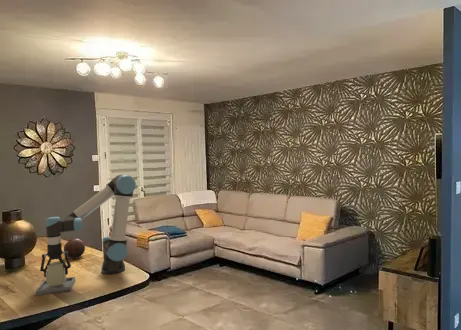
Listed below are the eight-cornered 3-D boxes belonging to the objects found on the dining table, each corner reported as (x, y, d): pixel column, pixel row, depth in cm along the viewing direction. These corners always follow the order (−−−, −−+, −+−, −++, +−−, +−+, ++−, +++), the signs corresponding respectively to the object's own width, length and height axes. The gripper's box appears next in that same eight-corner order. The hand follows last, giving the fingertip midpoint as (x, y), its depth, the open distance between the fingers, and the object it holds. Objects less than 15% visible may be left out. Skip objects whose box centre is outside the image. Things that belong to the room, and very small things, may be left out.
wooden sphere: (89, 256, 276) (88, 237, 275) (71, 262, 263) (70, 242, 263) (77, 254, 284) (76, 235, 283) (59, 259, 271) (58, 240, 271)
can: (47, 286, 205) (46, 266, 205) (47, 282, 213) (46, 262, 213) (65, 283, 210) (64, 263, 209) (64, 279, 218) (63, 259, 217)
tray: (75, 280, 223) (75, 276, 223) (70, 291, 205) (70, 286, 205) (43, 284, 218) (43, 280, 218) (36, 295, 200) (35, 291, 200)
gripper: (75, 240, 217) (77, 276, 218) (35, 243, 211) (37, 281, 212) (73, 242, 210) (75, 280, 211) (32, 246, 204) (34, 286, 205)
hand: (56, 281), depth 211 cm, fingers closed on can, 9 cm apart
